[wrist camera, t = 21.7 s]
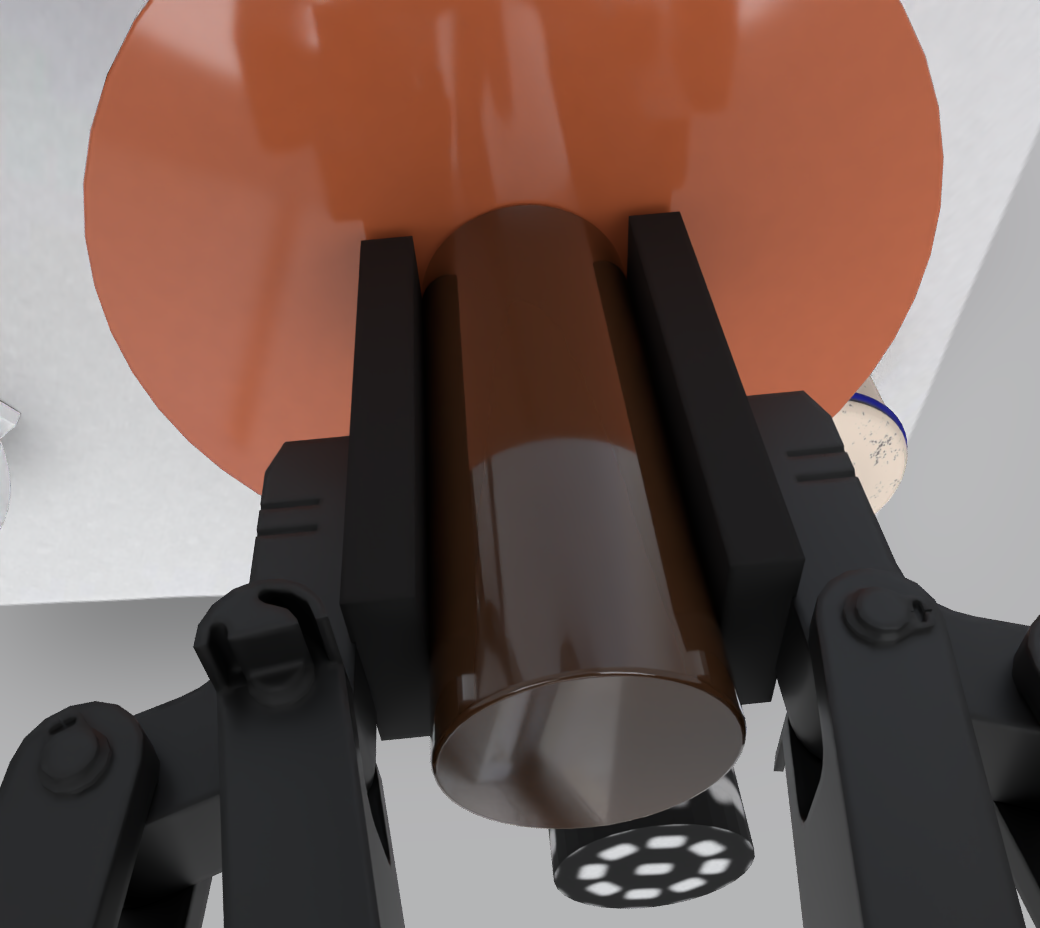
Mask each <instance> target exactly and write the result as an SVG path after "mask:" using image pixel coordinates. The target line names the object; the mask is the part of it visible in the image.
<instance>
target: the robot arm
mask: <svg viewBox="0 0 1040 928" xmlns="http://www.w3.org/2000/svg"><path fill="white" fill-rule="evenodd" d="M627 283H628V287H629V290H630V294H631V298H632V301H633V305H634V309H635V313H636V316H637V320H638V324H639V327H640V331H641V335H642V339H643V342H644V346H645V350H646V353H647V357H648V361H649V364H650V368H651V372H652V376H653V379H654V383H655V387H656V390H657V394H658V398H659V402H660V405H661V409H662V413H663V416H664V420H665V424H666V427H667V431H668V435H669V439H670V442H671V446H672V450H673V453H674V457H675V461H676V465H677V468H678V472H679V476H680V479H681V483H682V487H683V490H684V494H685V498H686V502H687V505H688V509H689V513H690V516H691V520H692V524H693V527H694V531H695V535H696V539H697V542H698V546H699V550H700V553H701V557H702V561H703V565H704V568H705V572H706V576H707V579H708V583H709V587H710V590H711V594H712V598H713V602H714V605H715V609H716V613H717V616H718V620H719V624H720V628H721V631H722V635H723V639H724V642H725V646H726V650H727V653H728V657H729V661H730V665H731V668H732V672H733V676H734V679H735V683H736V687H737V691H738V694H739V698H740V702H741V705H743V704H752V703H763V702H771V700H772V695H773V691H774V687H775V683H776V679H777V680H778V684H779V687H780V690H781V693H782V697H783V700H784V703H785V706H786V710H787V714H786V717H785V721H784V724H783V729H782V732H781V736H780V739H779V743H778V747H777V751H776V756H775V765H774V771H783V770H784V767H785V768H786V777H787V785H788V795H789V804H790V812H791V821H792V829H793V839H794V847H795V856H796V865H797V874H798V883H799V891H800V900H801V909H802V918H803V927H804V928H1026V926H1025V922H1024V918H1023V914H1022V911H1021V907H1020V903H1019V899H1018V895H1017V892H1016V889H1017V891H1018V893H1019V895H1020V897H1021V899H1022V901H1023V903H1024V905H1025V907H1026V908H1027V911H1028V913H1029V914H1030V916H1031V918H1032V920H1033V922H1034V924H1035V926H1036V928H1040V615H1039V616H1038V617H1037V619H1036V620H1035V621H1034V622H1033V623H1032V625H1031V626H1025V625H1021V624H1015V623H1009V622H1004V621H998V620H992V619H986V618H981V617H975V616H971V615H967V614H963V613H960V612H955V611H953V610H950V609H948V608H946V607H944V606H941V605H940V604H937V603H936V601H935V599H933V598H932V597H931V596H930V595H929V594H928V593H927V592H926V591H925V590H924V589H922V587H920V586H919V585H918V584H917V583H915V582H913V581H911V580H909V579H907V578H905V577H904V575H903V573H902V572H901V570H900V569H899V567H898V565H897V564H896V562H895V559H894V557H893V555H892V552H891V550H890V548H889V546H888V543H887V541H886V539H885V537H884V534H883V532H882V530H881V528H880V525H879V523H878V521H877V519H876V516H875V514H874V512H873V510H872V507H871V505H870V503H869V500H868V498H867V496H866V494H865V491H864V489H863V487H862V485H861V482H860V480H859V478H858V477H856V476H855V469H854V467H853V464H852V462H851V460H850V458H849V455H848V453H847V452H845V450H844V444H843V442H842V439H841V437H840V435H839V433H838V430H837V428H836V426H835V424H834V421H833V419H832V417H831V415H830V414H829V413H827V412H826V411H825V410H824V409H823V408H822V407H821V406H820V405H819V404H818V403H817V402H816V401H814V400H813V399H812V398H811V397H810V396H809V395H808V394H807V393H806V392H805V391H804V390H803V391H792V392H781V393H771V394H760V395H750V396H746V393H745V390H744V387H743V384H742V382H741V379H740V376H739V373H738V371H737V368H736V365H735V362H734V360H733V357H732V354H731V351H730V349H729V346H728V343H727V340H726V338H725V335H724V332H723V329H722V326H721V324H720V321H719V318H718V315H717V313H716V310H715V307H714V304H713V302H712V299H711V296H710V293H709V291H708V288H707V285H706V282H705V279H704V277H703V274H702V271H701V268H700V266H699V263H698V260H697V257H696V255H695V252H694V249H693V246H692V244H691V241H690V238H689V235H688V232H687V230H686V227H685V224H684V221H683V219H682V216H681V213H680V211H678V212H667V213H656V214H645V215H634V216H629V220H628V257H627ZM193 647H194V649H195V651H196V653H197V655H198V657H199V659H200V661H201V663H202V665H203V667H204V669H205V671H206V673H207V675H208V677H209V679H210V680H209V681H208V682H207V683H205V684H204V685H202V686H201V687H200V688H198V689H196V690H194V691H192V692H190V693H188V694H186V695H184V696H182V697H179V698H177V699H174V700H172V701H169V702H167V703H164V704H161V705H159V706H156V707H154V708H151V709H149V710H146V711H144V712H141V713H139V714H136V715H134V716H133V715H132V714H130V713H129V712H127V711H126V710H124V709H123V708H121V707H120V706H119V705H116V704H110V703H104V702H97V701H94V702H89V703H84V704H79V705H74V706H69V707H67V708H66V709H64V710H62V711H60V712H58V713H56V714H54V715H52V716H50V717H48V718H46V719H45V720H44V721H43V722H41V723H40V724H39V725H38V726H37V727H36V728H35V729H34V730H33V731H32V732H31V733H30V734H28V735H27V736H26V737H25V738H24V740H23V741H22V743H21V745H20V746H19V748H18V749H17V751H16V753H15V755H14V756H13V758H12V760H11V761H10V764H9V766H8V769H7V772H6V774H5V777H4V780H3V782H2V784H1V787H0V928H201V927H202V922H203V918H204V913H205V908H206V903H207V899H208V895H209V889H210V885H211V881H212V876H214V875H216V874H219V873H221V872H222V877H223V878H222V880H223V911H224V928H405V925H404V919H403V913H402V906H401V899H400V893H399V887H398V880H397V874H396V868H395V861H394V855H393V848H392V842H391V836H390V830H389V823H388V817H387V811H386V805H385V798H384V791H383V785H382V780H381V777H380V774H379V770H378V767H377V764H376V724H377V728H378V731H379V734H380V737H381V740H382V741H383V740H393V739H403V738H413V737H423V736H430V708H429V631H428V579H427V526H426V474H425V421H424V369H423V316H422V294H421V288H420V281H419V275H418V268H417V262H416V255H415V249H414V242H413V236H405V237H394V238H383V239H372V240H361V246H360V263H359V280H358V297H357V314H356V330H355V347H354V364H353V381H352V398H351V415H350V432H349V436H341V437H330V438H320V439H309V440H299V441H288V442H284V444H283V445H282V447H281V448H280V450H279V451H278V453H277V454H276V456H275V457H274V459H273V460H272V462H271V464H270V465H269V467H268V468H267V470H266V471H265V475H264V482H263V489H262V496H261V510H260V511H259V518H258V525H257V537H256V539H255V546H254V553H253V560H252V568H251V575H250V582H249V584H246V585H243V586H241V587H238V588H235V589H233V590H232V591H230V592H229V593H228V594H226V595H225V596H224V597H222V598H221V599H220V600H218V601H217V602H216V603H214V604H213V605H212V606H211V608H210V609H209V610H208V612H207V614H206V615H205V616H204V618H203V619H202V620H201V622H200V623H199V625H198V629H197V633H196V637H195V642H194V646H193ZM1015 887H1016V888H1015Z"/></svg>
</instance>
